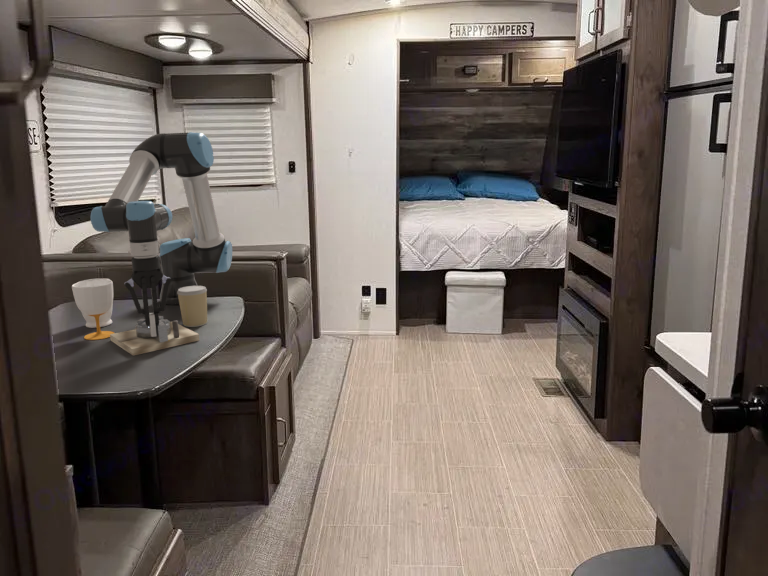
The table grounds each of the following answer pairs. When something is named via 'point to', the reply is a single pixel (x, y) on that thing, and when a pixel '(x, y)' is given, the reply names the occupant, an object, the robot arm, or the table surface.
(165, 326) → the grey notched machine part
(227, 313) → the table surface
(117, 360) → the table surface
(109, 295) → the cup
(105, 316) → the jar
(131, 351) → the housing plate
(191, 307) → the coffee cup
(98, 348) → the table surface
